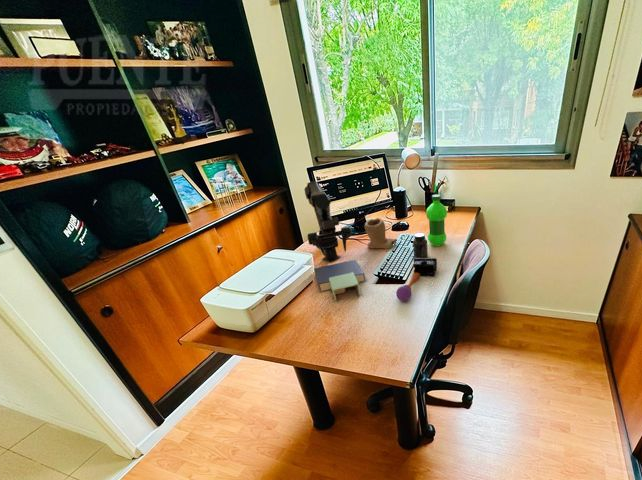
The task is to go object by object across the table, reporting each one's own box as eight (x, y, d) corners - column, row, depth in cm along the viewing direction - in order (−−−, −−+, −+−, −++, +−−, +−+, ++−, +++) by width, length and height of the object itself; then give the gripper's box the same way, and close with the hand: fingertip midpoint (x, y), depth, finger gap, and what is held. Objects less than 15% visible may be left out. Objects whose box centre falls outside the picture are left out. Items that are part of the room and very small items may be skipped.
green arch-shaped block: (328, 277, 137) (332, 289, 129) (353, 272, 139) (358, 283, 132) (331, 289, 141) (335, 301, 133) (355, 283, 143) (360, 295, 136)
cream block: (331, 280, 137) (333, 286, 134) (341, 278, 138) (343, 284, 135) (333, 288, 140) (335, 294, 137) (343, 286, 141) (345, 292, 138)
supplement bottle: (411, 257, 161) (410, 234, 154) (424, 254, 163) (423, 231, 156) (417, 262, 156) (416, 238, 149) (430, 259, 158) (429, 235, 151)
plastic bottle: (444, 248, 166) (444, 198, 152) (425, 247, 169) (422, 198, 155) (449, 240, 174) (449, 192, 159) (430, 239, 177) (428, 192, 163)
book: (316, 276, 152) (313, 268, 150) (357, 266, 157) (355, 259, 155) (320, 291, 140) (318, 283, 138) (365, 281, 145) (363, 273, 142)
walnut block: (342, 278, 138) (344, 284, 135) (352, 276, 139) (354, 281, 136) (343, 286, 141) (346, 291, 138) (353, 283, 142) (355, 289, 139)
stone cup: (364, 250, 172) (359, 223, 163) (372, 241, 181) (368, 215, 172) (391, 252, 168) (387, 224, 159) (398, 243, 177) (395, 215, 168)
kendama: (424, 271, 139) (409, 292, 123) (422, 283, 142) (407, 305, 126) (411, 268, 140) (394, 288, 124) (409, 280, 144) (393, 301, 128)
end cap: (437, 269, 148) (436, 255, 144) (435, 276, 143) (435, 262, 139) (415, 269, 150) (414, 255, 146) (413, 276, 145) (412, 262, 141)
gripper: (302, 215, 132) (312, 250, 130) (347, 207, 137) (357, 241, 135) (304, 227, 143) (313, 260, 140) (345, 220, 148) (355, 251, 145)
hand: (335, 253), depth 140 cm, fingers open, 9 cm apart
